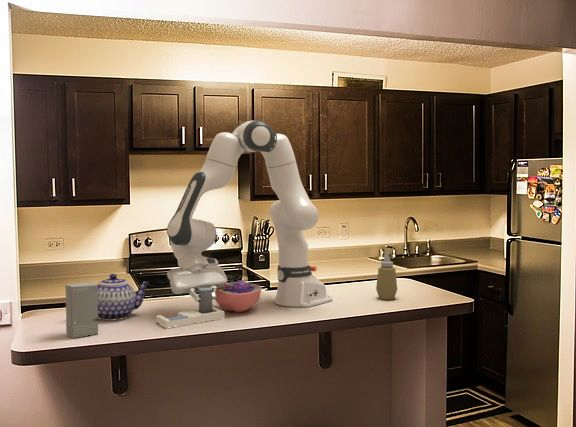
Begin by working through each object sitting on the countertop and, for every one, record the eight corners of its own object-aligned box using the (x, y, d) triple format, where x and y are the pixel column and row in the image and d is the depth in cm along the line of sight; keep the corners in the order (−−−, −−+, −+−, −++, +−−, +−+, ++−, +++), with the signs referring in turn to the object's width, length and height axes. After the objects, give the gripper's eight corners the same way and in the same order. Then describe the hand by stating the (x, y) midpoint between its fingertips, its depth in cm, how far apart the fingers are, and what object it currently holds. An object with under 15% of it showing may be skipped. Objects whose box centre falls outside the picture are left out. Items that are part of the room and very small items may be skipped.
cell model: (250, 302, 226) (250, 272, 225) (268, 314, 208) (268, 282, 207) (206, 306, 220) (206, 276, 219) (221, 319, 202) (221, 286, 201)
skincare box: (72, 339, 179) (70, 287, 178) (65, 333, 185) (63, 283, 184) (100, 334, 184) (98, 284, 183) (92, 329, 190) (91, 280, 188)
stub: (208, 315, 207) (208, 284, 206) (215, 318, 203) (214, 286, 202) (196, 317, 204) (195, 285, 203) (202, 320, 200) (202, 288, 199)
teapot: (75, 326, 194) (74, 280, 193) (74, 314, 208) (73, 272, 207) (154, 318, 203) (152, 275, 201) (148, 308, 217) (147, 267, 216)
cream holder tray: (212, 313, 209) (212, 305, 209) (224, 318, 202) (224, 310, 202) (156, 323, 197) (156, 314, 197) (166, 328, 190) (166, 319, 190)
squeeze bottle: (397, 301, 226) (397, 254, 225) (375, 300, 227) (376, 254, 226) (396, 296, 234) (397, 251, 233) (376, 295, 235) (376, 250, 234)
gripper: (167, 264, 202) (180, 298, 194) (221, 258, 213) (235, 290, 206) (162, 275, 206) (175, 309, 198) (215, 269, 217) (229, 300, 210)
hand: (206, 299), depth 202 cm, fingers closed on stub, 4 cm apart
